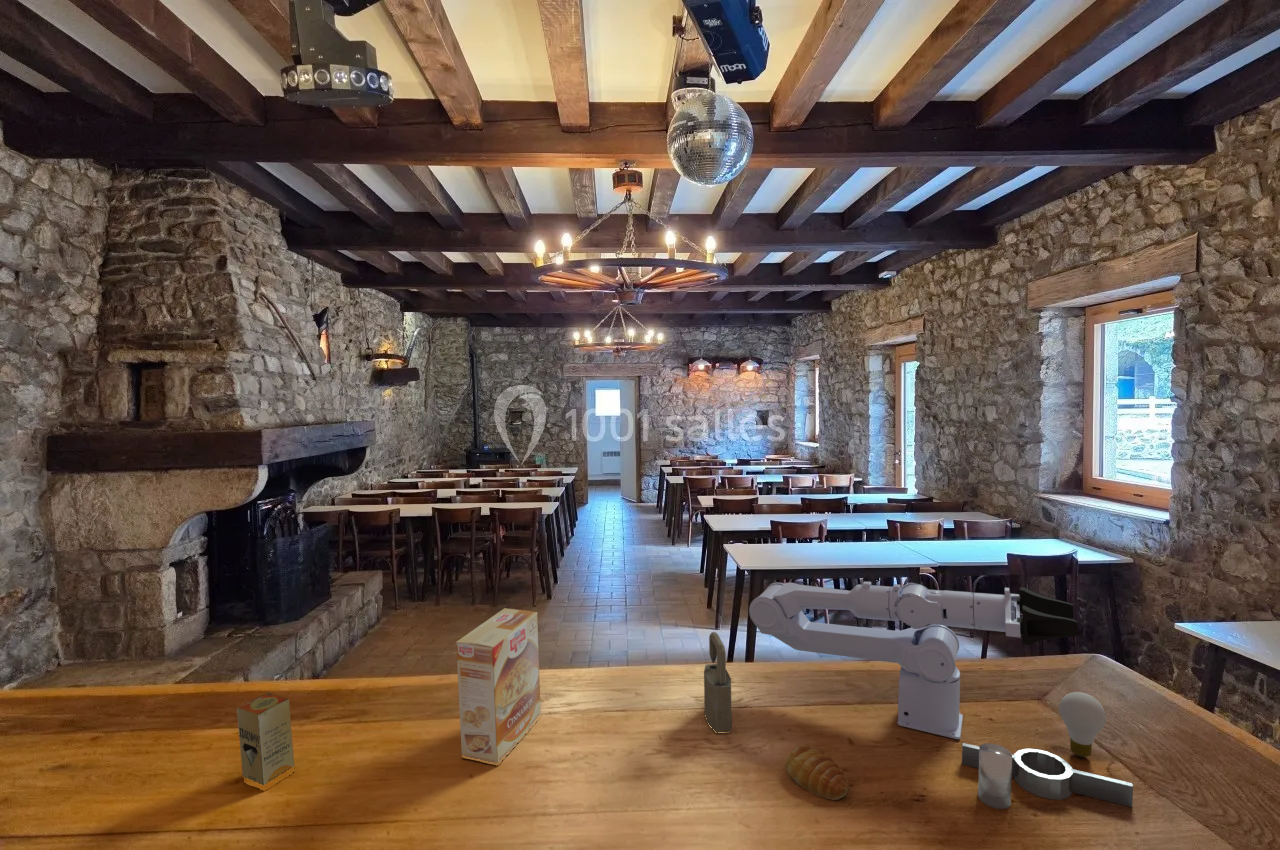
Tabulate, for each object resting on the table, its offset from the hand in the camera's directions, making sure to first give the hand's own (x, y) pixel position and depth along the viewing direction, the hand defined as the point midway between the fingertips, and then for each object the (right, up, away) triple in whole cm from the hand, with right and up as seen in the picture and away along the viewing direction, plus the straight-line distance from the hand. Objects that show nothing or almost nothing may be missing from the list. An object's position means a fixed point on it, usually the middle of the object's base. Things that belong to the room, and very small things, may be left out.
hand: (1075, 619), depth 98 cm
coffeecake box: (-89, -23, +11) cm, 93 cm away
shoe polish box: (-123, -25, +1) cm, 126 cm away
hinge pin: (-17, -23, -8) cm, 29 cm away
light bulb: (+2, -22, +2) cm, 22 cm away
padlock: (-53, -22, +14) cm, 59 cm away
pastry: (-40, -23, -2) cm, 46 cm away
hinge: (-8, -22, -4) cm, 24 cm away
